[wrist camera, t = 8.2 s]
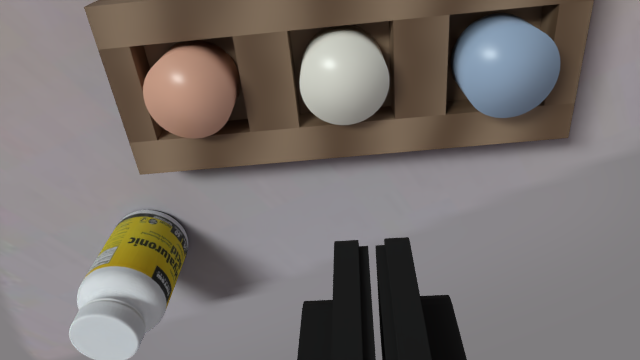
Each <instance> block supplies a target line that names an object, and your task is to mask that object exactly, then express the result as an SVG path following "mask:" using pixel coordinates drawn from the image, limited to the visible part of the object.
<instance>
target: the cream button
mask: <svg viewBox="0 0 640 360" xmlns="http://www.w3.org/2000/svg"><path fill="white" fill-rule="evenodd" d="M388 90H389V72H388V68H387V65H386V63H385V60H384V58H383V55H382V53H381V50H380V47H379V46H378V44H377V42H376V41H375V39H374V38H373V37H372V36H371V35H370V34H368V33H367V32H366V31H364V30H362V29H361V28H358V27H355V26H351V25H342V26H332V27H328V28H326V29H324V30H322V31H320V32H319V33H317V34H316V35H315V36H314V37H313V38H312V39H311V40H310V42H309V43H308V44H307V46H306V48H305V50H304V53H303V56H302V62H301V72H300V92H301V95H302V98H303V101H304V103H305V104H306V106H307V107H308V109H309V110H310V111H311V112H312V113H313V114H314V115H315V116H317V117H318V118H320V119H321V120H323V121H325V122H328V123H331V124H336V125H351V124H356V123H359V122H361V121H364V120H366V119H367V118H369V117H370V116H372V115H373V114H374V113H375V112H376V111H378V109H379V108H380V107H381V106H382V104H383V102H384V101H385V99H386V96H387V93H388Z"/></svg>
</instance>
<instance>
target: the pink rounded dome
mask: <svg viewBox="0 0 640 360" xmlns="http://www.w3.org/2000/svg"><path fill="white" fill-rule="evenodd" d="M239 91H240V76H239V72H238V69H237V67H236V65H235V63H234V61H233V60H232V58H231V57H230V56H229V55H228V54H227V53H226V52H225V51H224V50H223V49H221V48H220V47H218V46H217V45H215V44H213V43H210V42H207V41H203V40H191V41H182V42H179V43H177V44H175V45H174V46H172V47H171V48H170V49H169V50H168V51H167V52H166V53H165V54H164V55H163V56H162V57H161V58H160V59H159V60H158V61H157V62H156V63H155V64H154V65H153V67H152V68H151V69H150V70H149V72H148V74H147V75H146V78H145V81H144V85H143V97H144V101H145V105H146V107H147V109H148V111H149V113H150V115H151V116H152V118H153V119H154V120H155V121H156V122H157V123H158V124H159V125H160V126H161V127H162V128H164V129H165V130H167V131H168V132H170V133H172V134H174V135H177V136H180V137H184V138H192V139H196V138H204V137H207V136H210V135H212V134H214V133H216V132H218V131H219V130H220V129H221V128H222V127H223V126H224V125H225V124H226V122H227V121H228V119H229V117H230V115H231V112H232V110H233V107H234V105H235V102H236V100H237V97H238V94H239Z"/></svg>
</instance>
